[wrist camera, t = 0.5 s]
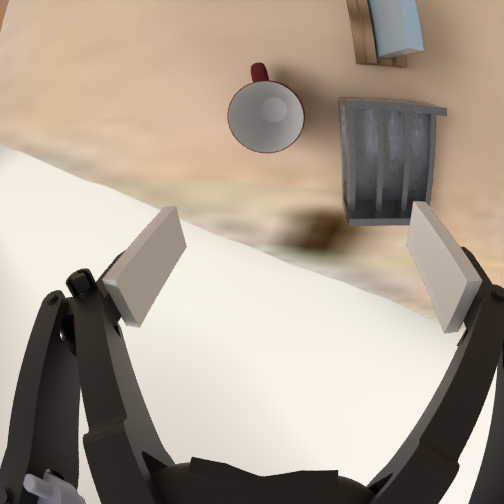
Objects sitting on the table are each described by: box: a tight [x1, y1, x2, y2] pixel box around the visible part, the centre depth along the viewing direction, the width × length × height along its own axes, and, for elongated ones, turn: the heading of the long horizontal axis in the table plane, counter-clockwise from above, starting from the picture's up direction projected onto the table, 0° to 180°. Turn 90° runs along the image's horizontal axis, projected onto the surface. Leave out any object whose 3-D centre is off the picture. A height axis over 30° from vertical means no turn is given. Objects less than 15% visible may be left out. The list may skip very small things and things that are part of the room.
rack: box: [338, 98, 447, 226], centre depth 32 cm, size 16×13×7 cm
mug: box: [228, 63, 305, 153], centre depth 30 cm, size 10×8×10 cm
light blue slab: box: [367, 0, 424, 59], centre depth 19 cm, size 12×2×12 cm, turn 8°
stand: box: [346, 0, 407, 68], centre depth 23 cm, size 14×7×3 cm, turn 8°
